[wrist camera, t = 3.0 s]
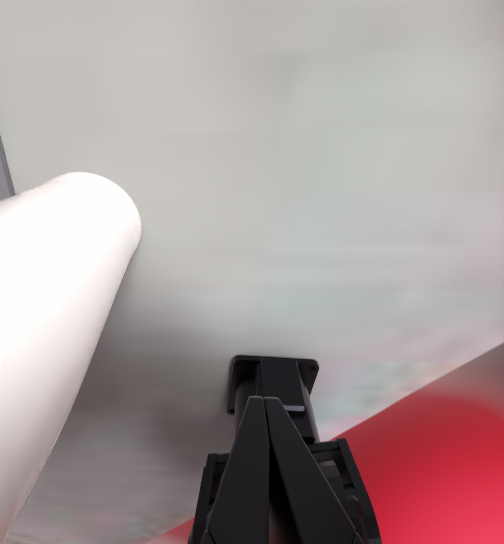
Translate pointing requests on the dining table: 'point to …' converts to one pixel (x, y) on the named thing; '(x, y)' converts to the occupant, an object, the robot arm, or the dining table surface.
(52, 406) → the drinking glass
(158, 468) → the dining table surface
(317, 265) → the dining table surface
